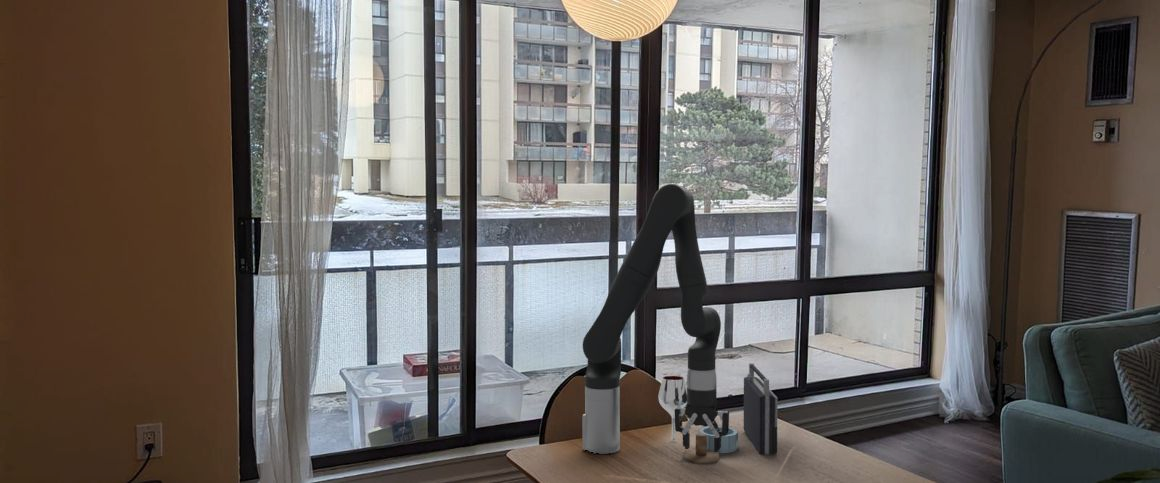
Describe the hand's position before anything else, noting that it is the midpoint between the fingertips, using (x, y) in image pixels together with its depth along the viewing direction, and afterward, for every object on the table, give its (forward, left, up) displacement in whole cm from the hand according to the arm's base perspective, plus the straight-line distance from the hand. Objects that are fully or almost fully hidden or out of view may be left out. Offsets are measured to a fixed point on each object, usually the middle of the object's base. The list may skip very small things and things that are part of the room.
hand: (701, 449), depth 218 cm
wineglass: (-11, +13, -3) cm, 17 cm away
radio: (+11, +21, -3) cm, 24 cm away
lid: (0, 0, -2) cm, 2 cm away
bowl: (+2, +11, -3) cm, 11 cm away
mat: (0, 0, -3) cm, 3 cm away
